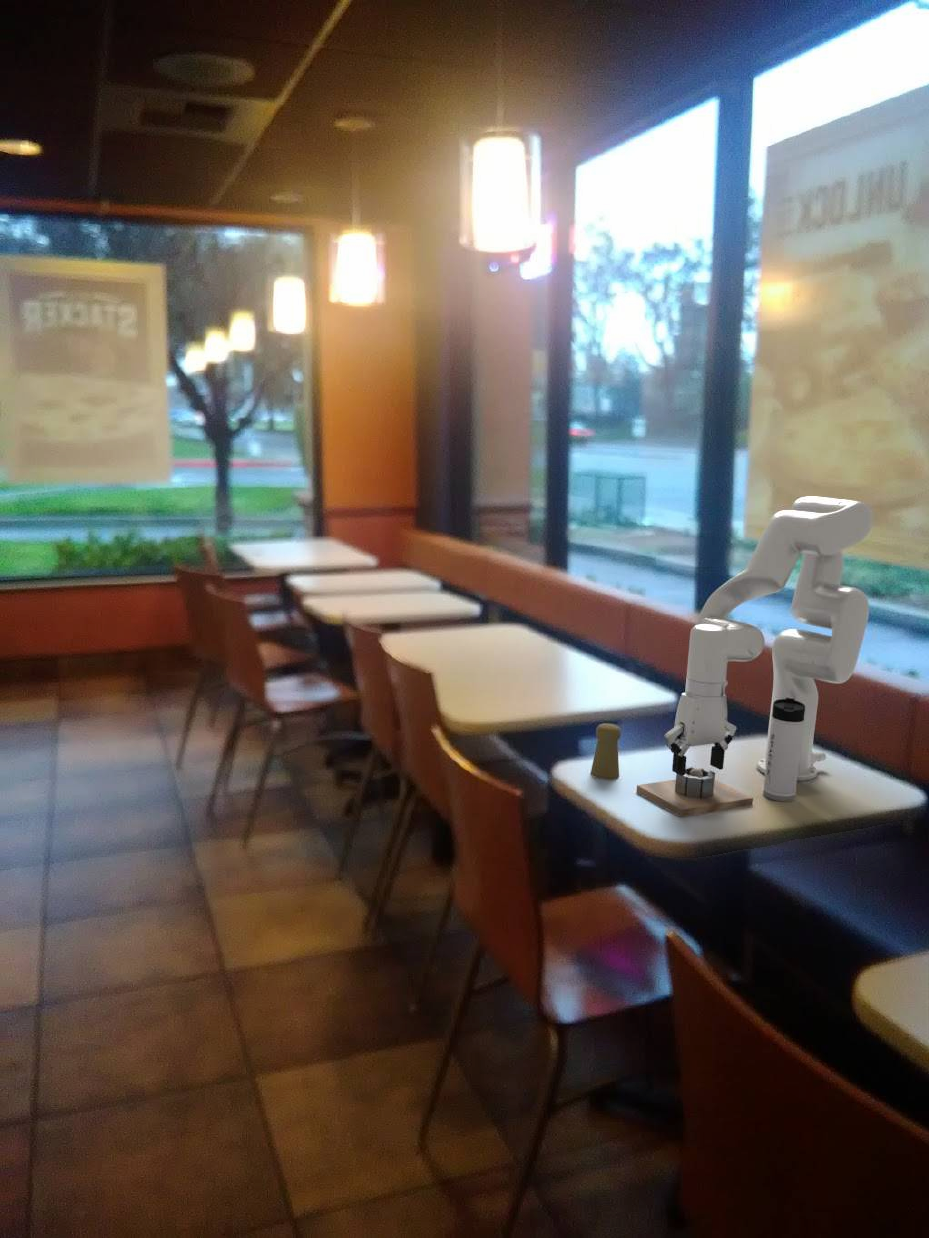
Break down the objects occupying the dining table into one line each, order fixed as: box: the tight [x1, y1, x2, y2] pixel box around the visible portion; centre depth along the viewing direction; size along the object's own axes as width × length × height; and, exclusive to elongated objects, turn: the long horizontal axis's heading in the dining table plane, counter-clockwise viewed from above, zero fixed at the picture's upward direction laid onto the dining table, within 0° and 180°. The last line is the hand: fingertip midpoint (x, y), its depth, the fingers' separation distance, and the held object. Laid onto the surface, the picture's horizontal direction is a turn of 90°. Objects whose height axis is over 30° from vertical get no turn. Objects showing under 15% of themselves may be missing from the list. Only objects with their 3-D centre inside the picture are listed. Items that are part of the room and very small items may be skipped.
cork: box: [590, 722, 622, 781], centre depth 216 cm, size 6×6×11 cm
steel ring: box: [675, 765, 716, 799], centre depth 204 cm, size 7×7×4 cm
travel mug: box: [762, 698, 805, 803], centre depth 207 cm, size 6×7×20 cm
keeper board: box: [636, 768, 754, 818], centre depth 205 cm, size 18×14×6 cm
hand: (697, 770), depth 204 cm, fingers open, 9 cm apart
